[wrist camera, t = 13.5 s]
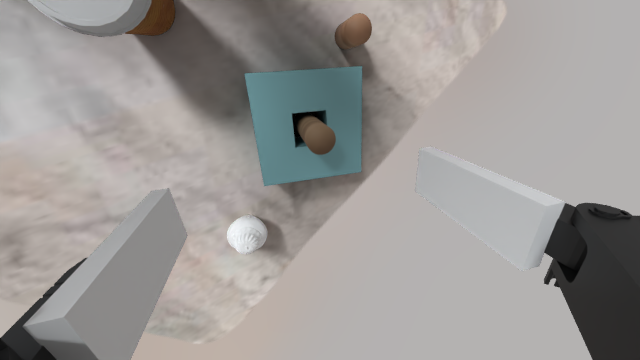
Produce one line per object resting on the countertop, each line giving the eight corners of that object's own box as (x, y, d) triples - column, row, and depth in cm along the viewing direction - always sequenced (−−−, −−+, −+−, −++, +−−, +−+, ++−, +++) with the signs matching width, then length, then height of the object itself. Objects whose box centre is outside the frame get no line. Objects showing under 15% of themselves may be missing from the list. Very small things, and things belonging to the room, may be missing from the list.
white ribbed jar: (273, 228, 42) (274, 254, 36) (241, 242, 42) (237, 272, 35) (256, 201, 39) (255, 224, 33) (222, 216, 39) (214, 242, 33)
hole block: (247, 74, 32) (244, 73, 26) (346, 68, 34) (362, 66, 29) (264, 170, 37) (264, 186, 32) (347, 159, 40) (361, 171, 34)
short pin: (334, 23, 32) (346, 13, 27) (356, 22, 32) (372, 13, 28) (335, 49, 33) (346, 45, 28) (356, 49, 34) (371, 44, 29)
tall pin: (292, 112, 35) (305, 127, 24) (313, 110, 35) (335, 123, 25) (294, 133, 36) (307, 156, 25) (315, 131, 37) (336, 152, 26)
